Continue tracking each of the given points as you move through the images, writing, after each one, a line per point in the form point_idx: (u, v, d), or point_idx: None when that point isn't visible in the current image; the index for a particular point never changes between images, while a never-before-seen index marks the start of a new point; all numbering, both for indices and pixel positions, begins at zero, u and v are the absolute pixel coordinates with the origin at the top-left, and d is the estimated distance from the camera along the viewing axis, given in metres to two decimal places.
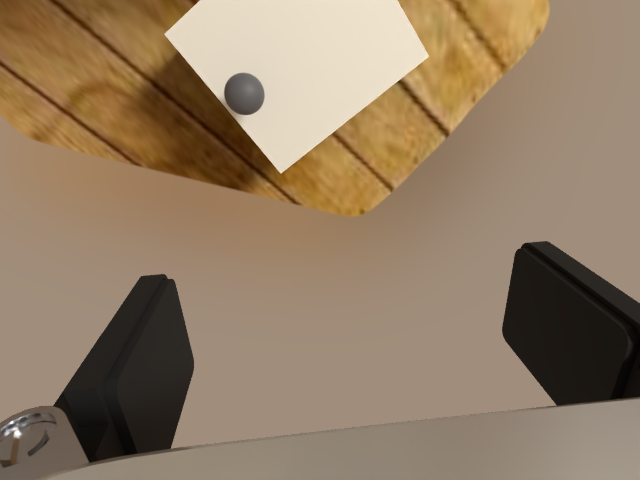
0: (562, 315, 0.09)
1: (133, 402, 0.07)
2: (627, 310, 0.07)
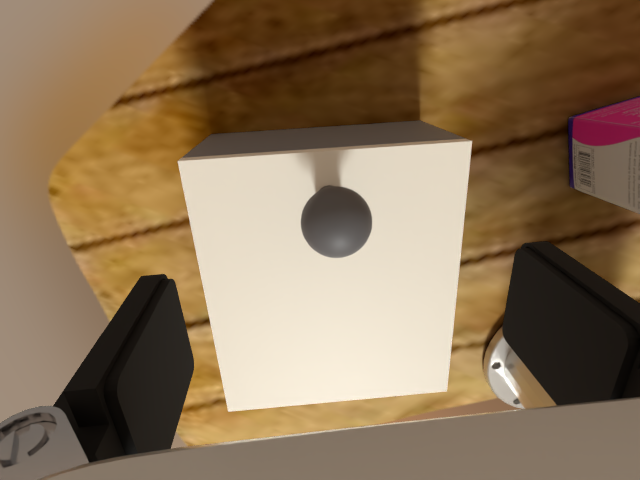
0: (562, 315, 0.09)
1: (133, 402, 0.07)
2: (627, 310, 0.07)
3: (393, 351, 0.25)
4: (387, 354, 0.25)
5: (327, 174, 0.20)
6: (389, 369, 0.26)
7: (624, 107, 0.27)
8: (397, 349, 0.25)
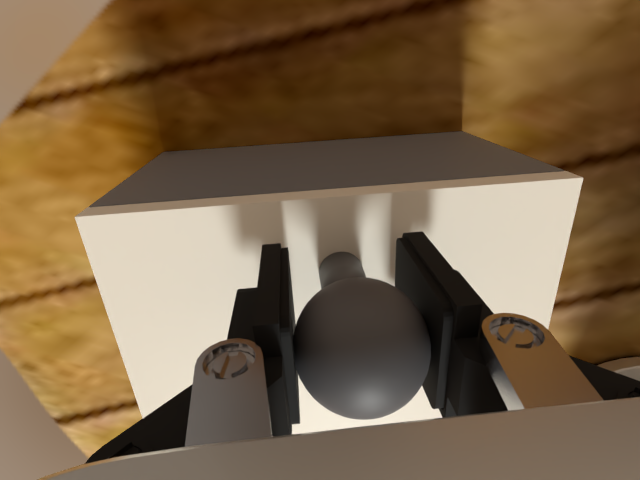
0: (417, 296, 0.10)
1: (291, 342, 0.08)
2: (451, 289, 0.08)
3: None
4: None
5: (338, 234, 0.12)
6: None
7: None
8: None
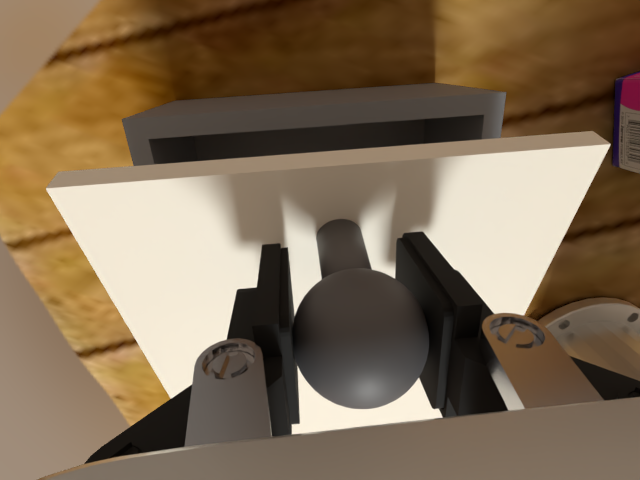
0: (417, 296, 0.10)
1: (291, 342, 0.08)
2: (451, 289, 0.08)
3: (412, 393, 0.19)
4: (404, 396, 0.19)
5: (337, 203, 0.11)
6: (405, 407, 0.20)
7: None
8: (418, 391, 0.19)
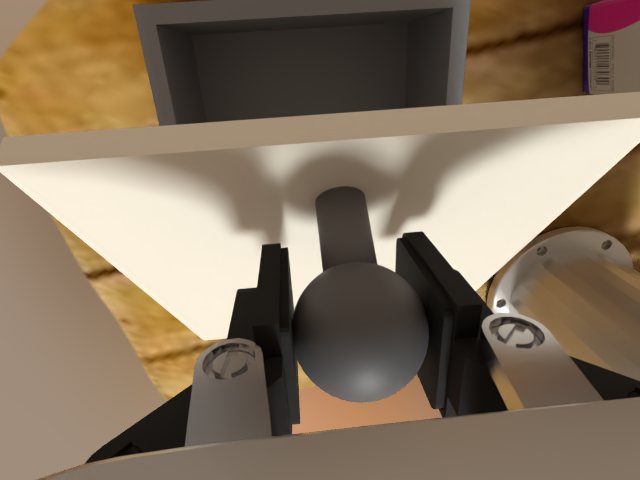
0: None
1: (291, 341, 0.08)
2: (451, 288, 0.08)
3: None
4: None
5: (341, 173, 0.10)
6: None
7: None
8: None
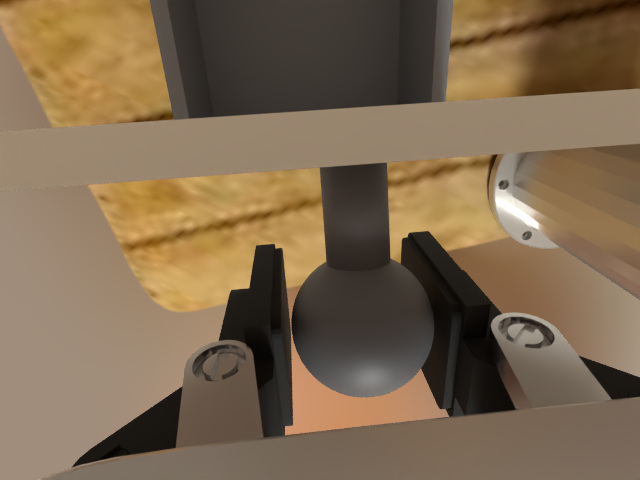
0: None
1: (284, 343, 0.08)
2: (459, 288, 0.08)
3: None
4: None
5: None
6: None
7: None
8: None
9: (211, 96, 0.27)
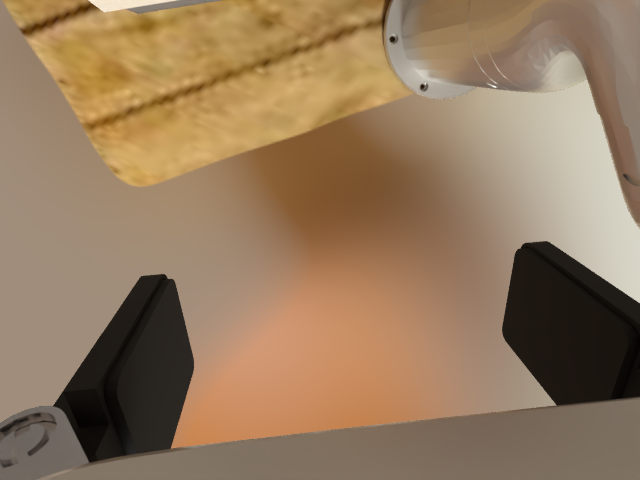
0: (562, 315, 0.09)
1: (133, 402, 0.07)
2: (627, 310, 0.07)
3: None
4: None
5: None
6: None
7: None
8: None
9: None
